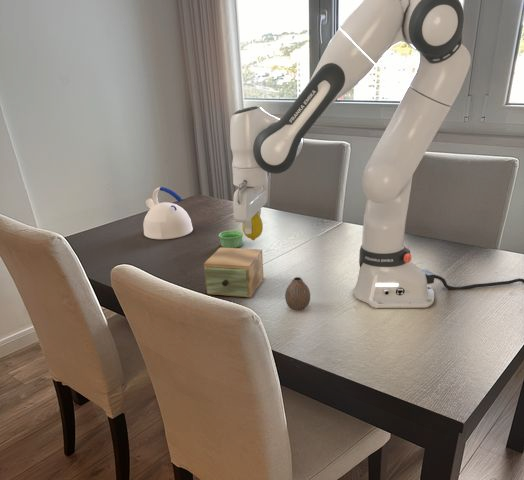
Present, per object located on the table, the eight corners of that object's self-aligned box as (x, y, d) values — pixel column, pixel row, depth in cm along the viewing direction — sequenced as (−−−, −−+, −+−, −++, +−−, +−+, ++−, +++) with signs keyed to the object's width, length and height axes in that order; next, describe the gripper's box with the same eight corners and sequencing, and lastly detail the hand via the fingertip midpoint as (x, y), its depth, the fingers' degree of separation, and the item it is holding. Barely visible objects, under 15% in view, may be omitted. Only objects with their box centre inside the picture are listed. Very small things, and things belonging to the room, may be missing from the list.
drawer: (246, 297, 142) (244, 272, 137) (205, 294, 145) (202, 269, 141) (259, 279, 153) (258, 255, 149) (221, 276, 156) (219, 253, 152)
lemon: (261, 244, 132) (259, 214, 128) (241, 243, 133) (239, 214, 129) (265, 237, 137) (263, 208, 133) (245, 236, 138) (244, 208, 134)
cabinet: (250, 297, 144) (248, 266, 139) (207, 294, 147) (203, 263, 142) (263, 279, 155) (262, 249, 150) (222, 276, 159) (220, 247, 154)
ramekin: (245, 241, 188) (244, 229, 185) (241, 249, 180) (241, 237, 178) (222, 241, 189) (221, 230, 186) (217, 249, 181) (216, 238, 179)
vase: (303, 315, 132) (302, 285, 128) (281, 310, 136) (280, 281, 131) (314, 305, 137) (314, 276, 133) (293, 300, 141) (292, 272, 136)
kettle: (168, 222, 215) (161, 179, 205) (203, 228, 204) (198, 184, 194) (133, 235, 201) (124, 190, 192) (168, 242, 190) (161, 195, 181)
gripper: (249, 186, 117) (253, 242, 124) (271, 168, 134) (273, 218, 141) (225, 186, 119) (229, 241, 126) (249, 168, 135) (252, 218, 143)
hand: (252, 229), depth 134 cm, fingers closed on lemon, 5 cm apart
